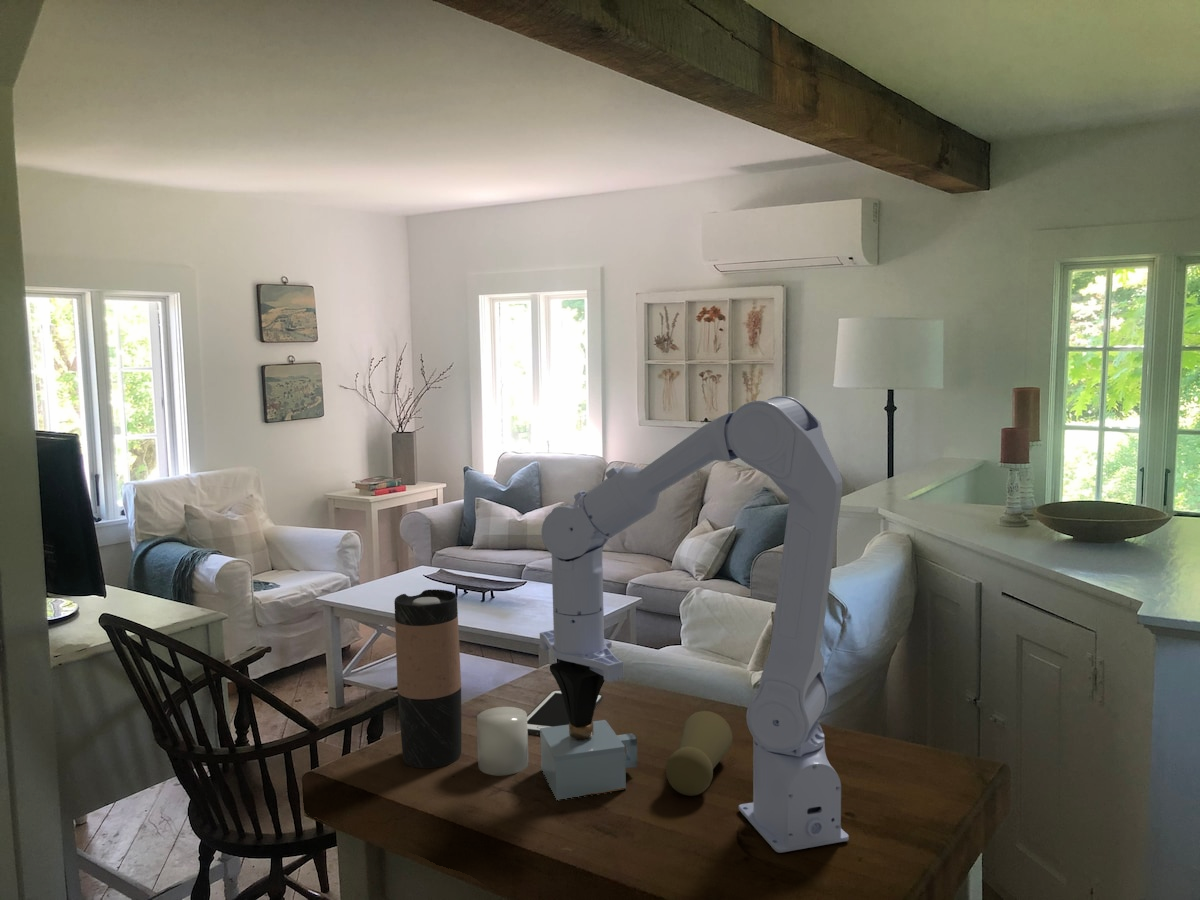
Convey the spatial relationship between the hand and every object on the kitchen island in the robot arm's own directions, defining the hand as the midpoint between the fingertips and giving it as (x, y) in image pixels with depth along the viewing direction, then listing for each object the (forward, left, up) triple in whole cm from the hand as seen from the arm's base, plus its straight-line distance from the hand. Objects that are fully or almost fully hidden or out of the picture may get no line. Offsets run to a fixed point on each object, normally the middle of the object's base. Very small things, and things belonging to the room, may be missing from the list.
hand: (580, 724), depth 107 cm
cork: (+1, -16, -4) cm, 16 cm away
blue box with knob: (0, -1, -7) cm, 7 cm away
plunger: (0, 0, -6) cm, 6 cm away
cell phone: (+20, -2, -7) cm, 21 cm away
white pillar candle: (+7, +8, -7) cm, 13 cm away
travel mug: (+12, +16, -7) cm, 21 cm away
